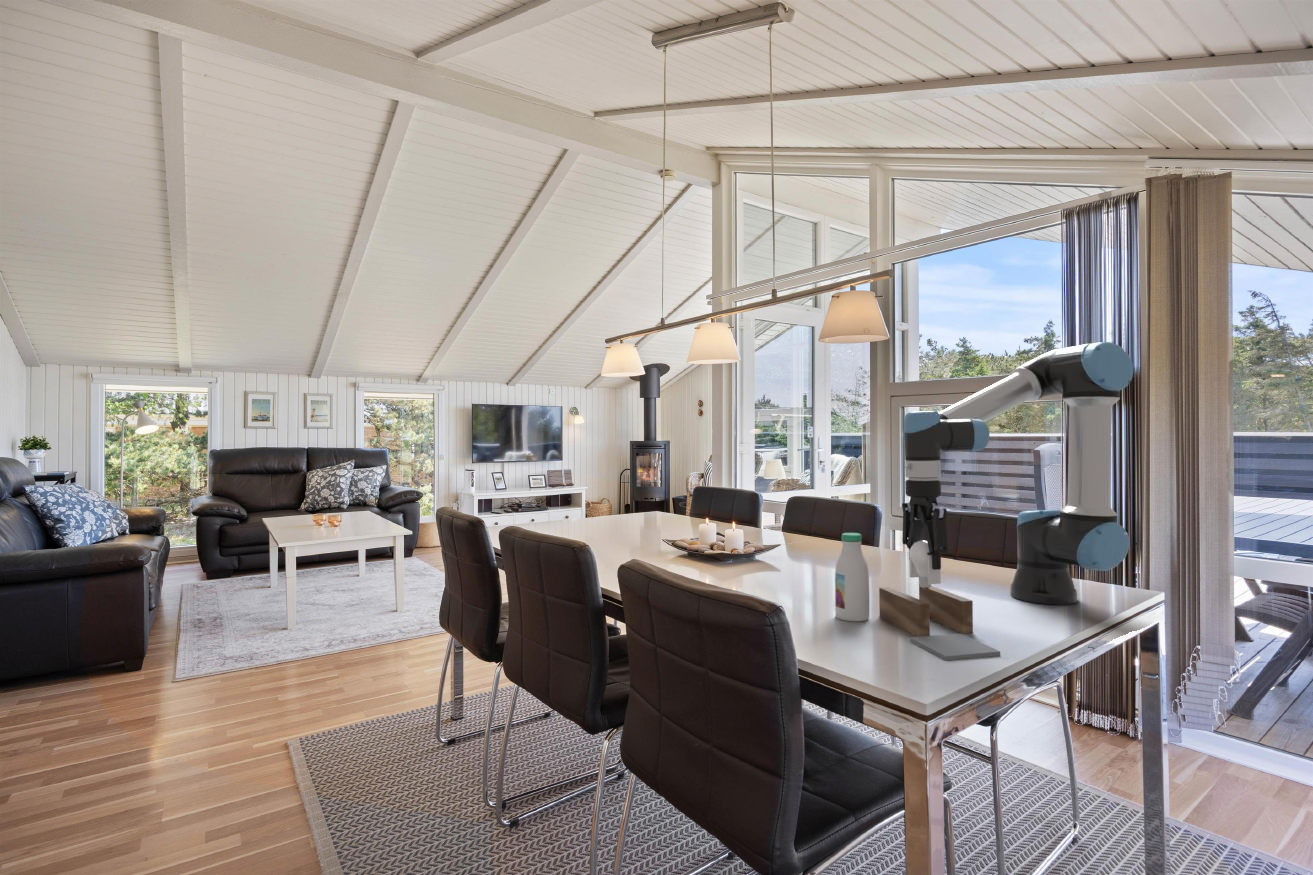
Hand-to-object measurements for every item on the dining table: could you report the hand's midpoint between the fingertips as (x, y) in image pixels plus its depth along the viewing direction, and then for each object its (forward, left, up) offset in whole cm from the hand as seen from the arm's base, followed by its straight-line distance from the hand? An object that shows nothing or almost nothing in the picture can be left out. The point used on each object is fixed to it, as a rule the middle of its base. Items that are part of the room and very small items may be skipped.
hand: (924, 579), depth 151 cm
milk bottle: (+13, -9, -10) cm, 19 cm away
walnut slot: (0, 0, -10) cm, 10 cm away
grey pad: (+4, +16, -10) cm, 19 cm away
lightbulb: (0, 0, -2) cm, 2 cm away
